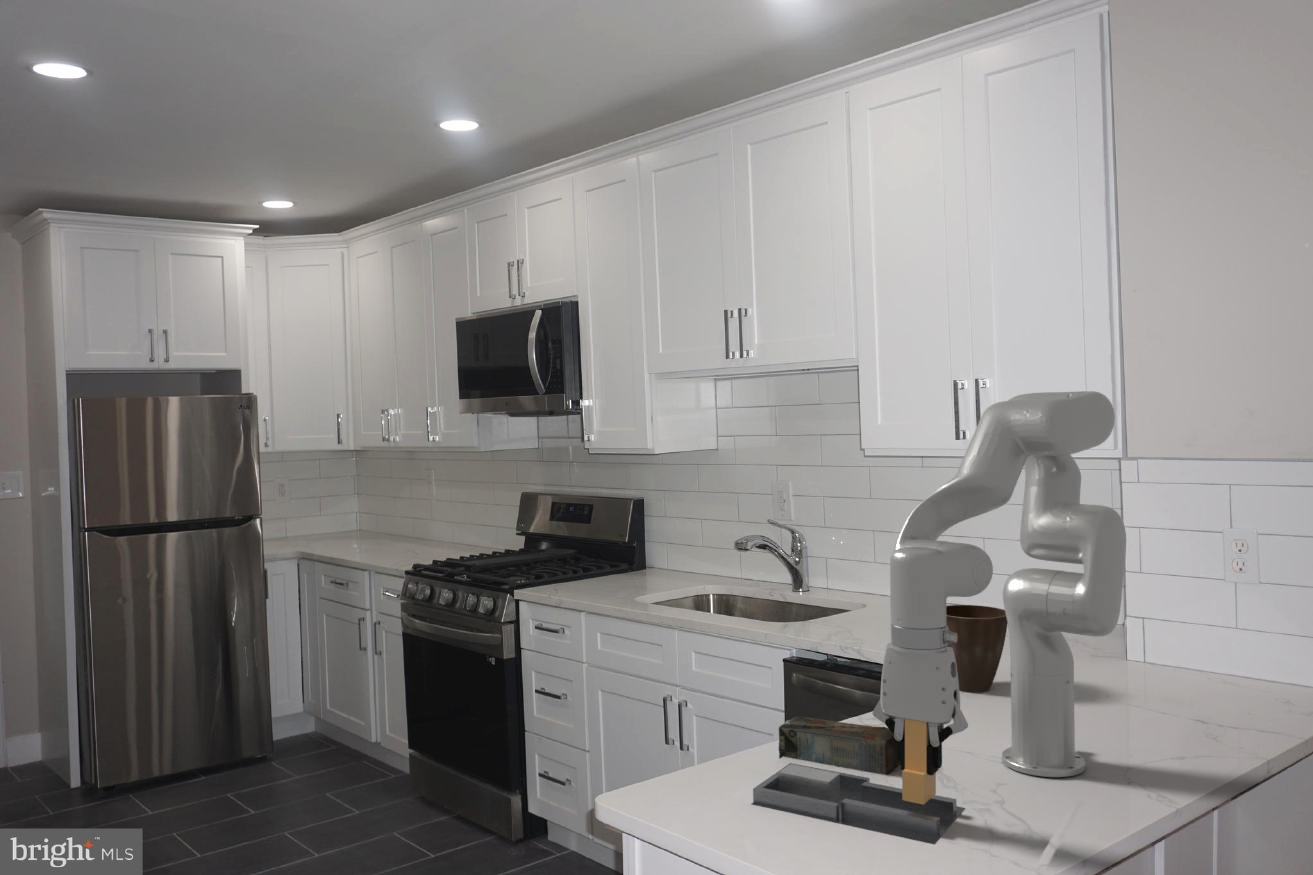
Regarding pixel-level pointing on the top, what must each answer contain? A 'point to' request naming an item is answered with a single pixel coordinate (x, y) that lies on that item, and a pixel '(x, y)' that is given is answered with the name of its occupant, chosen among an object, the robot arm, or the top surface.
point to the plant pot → (977, 644)
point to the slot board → (866, 808)
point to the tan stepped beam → (917, 764)
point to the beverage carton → (839, 744)
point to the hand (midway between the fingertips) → (919, 768)
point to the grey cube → (822, 785)
